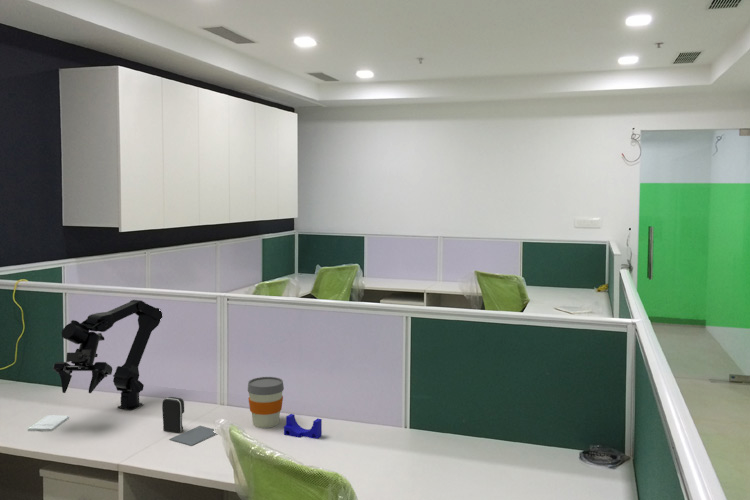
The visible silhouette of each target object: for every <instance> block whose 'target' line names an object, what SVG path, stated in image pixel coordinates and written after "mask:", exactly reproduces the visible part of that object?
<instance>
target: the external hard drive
mask: <svg viewBox="0 0 750 500" xmlns="http://www.w3.org/2000/svg"><path fill="white" fill-rule="evenodd" d="M69 419H70V416H69V415H52V414H51V415H50V414H47V415H45V416H44V417H42V418H41V419H40V420H38V421H36V423H34V424H33V425H31V426H30V427H29V428H27V432H53V431H54V430H56V429H57V428H58V427H60V426H61V425H62V424H63V423H65V422H66V421H68V420H69Z"/></svg>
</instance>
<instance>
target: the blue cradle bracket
mask: <svg viewBox="0 0 750 500" xmlns="http://www.w3.org/2000/svg"><path fill="white" fill-rule="evenodd" d="M285 419H286V420H285V425H284V426H283V435H284V436H288V437H292V438H293V437H295V438H301V437H305V438H310V439H316V440H318V439H319V438H321V437H322V434H323V433H322V432H323V430H322V428H323V427H322V424H323V423H322V420H323V419H322V418H316V419H315V420H313V421H312V422H313V423H312V426H311V428H310V429H309V428H308V429H306V428H303V427H301V425H299V424H298V422H297V420H296V417H295V414H293V413H290V414H288V415H286V416H285Z"/></svg>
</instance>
